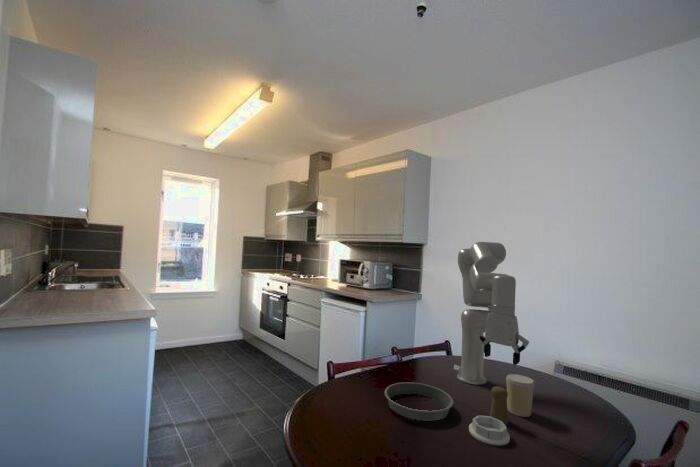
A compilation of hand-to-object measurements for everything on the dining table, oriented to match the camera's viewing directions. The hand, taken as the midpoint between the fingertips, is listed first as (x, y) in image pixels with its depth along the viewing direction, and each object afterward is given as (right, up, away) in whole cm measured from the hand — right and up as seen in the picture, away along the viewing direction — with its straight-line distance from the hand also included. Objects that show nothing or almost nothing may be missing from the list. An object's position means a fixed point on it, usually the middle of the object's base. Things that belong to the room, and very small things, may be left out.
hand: (501, 360), depth 116 cm
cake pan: (-28, -20, +6) cm, 35 cm away
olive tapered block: (-1, -21, -1) cm, 21 cm away
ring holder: (-9, -20, -11) cm, 24 cm away
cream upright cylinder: (+10, -22, +6) cm, 25 cm away
